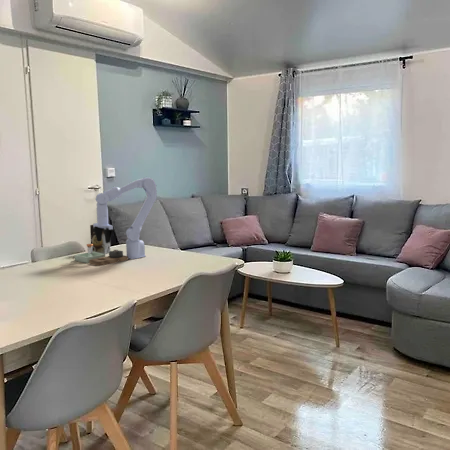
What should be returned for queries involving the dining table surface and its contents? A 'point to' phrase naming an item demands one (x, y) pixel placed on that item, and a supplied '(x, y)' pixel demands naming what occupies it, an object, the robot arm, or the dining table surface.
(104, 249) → the coffee box
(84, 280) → the dining table surface
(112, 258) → the tensioner board
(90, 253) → the lock pin
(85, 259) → the tray
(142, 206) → the robot arm
